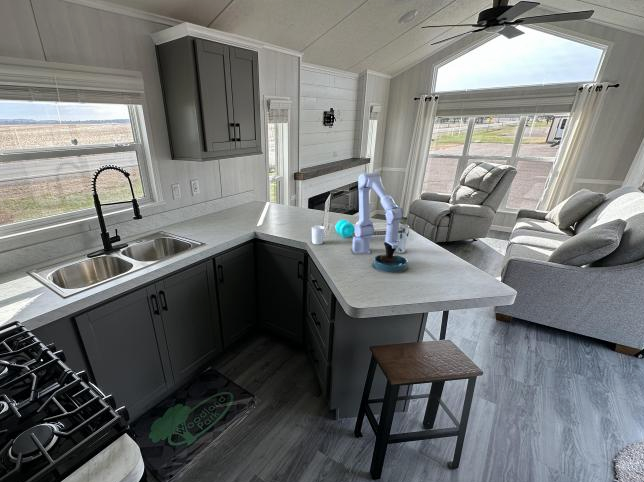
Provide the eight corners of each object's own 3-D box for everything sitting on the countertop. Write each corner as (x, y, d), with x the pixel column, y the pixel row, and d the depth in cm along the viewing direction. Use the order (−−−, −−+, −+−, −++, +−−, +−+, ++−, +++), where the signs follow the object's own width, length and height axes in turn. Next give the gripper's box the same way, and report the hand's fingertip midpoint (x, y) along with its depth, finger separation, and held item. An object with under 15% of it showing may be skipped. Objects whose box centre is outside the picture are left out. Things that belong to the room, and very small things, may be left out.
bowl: (377, 273, 162) (378, 266, 160) (370, 260, 176) (371, 254, 175) (410, 273, 160) (412, 266, 159) (401, 260, 175) (402, 254, 174)
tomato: (385, 261, 171) (386, 256, 171) (383, 261, 174) (384, 256, 174) (391, 262, 171) (391, 256, 171) (389, 262, 174) (390, 256, 174)
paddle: (381, 260, 170) (381, 255, 169) (380, 258, 171) (381, 254, 170) (396, 260, 169) (397, 255, 168) (396, 259, 171) (396, 254, 170)
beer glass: (406, 253, 184) (410, 227, 178) (393, 253, 185) (397, 227, 179) (404, 249, 190) (408, 224, 184) (392, 248, 191) (395, 224, 185)
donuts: (340, 238, 210) (341, 223, 206) (334, 234, 219) (335, 219, 215) (354, 237, 212) (355, 222, 208) (348, 232, 221) (349, 218, 217)
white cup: (310, 241, 208) (310, 226, 204) (322, 240, 209) (323, 225, 205) (312, 245, 201) (313, 229, 197) (325, 244, 202) (326, 229, 198)
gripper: (404, 236, 157) (400, 262, 163) (396, 227, 171) (393, 251, 176) (389, 236, 158) (386, 262, 163) (382, 227, 171) (379, 251, 177)
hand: (389, 256), depth 170 cm, fingers closed on paddle, 1 cm apart
